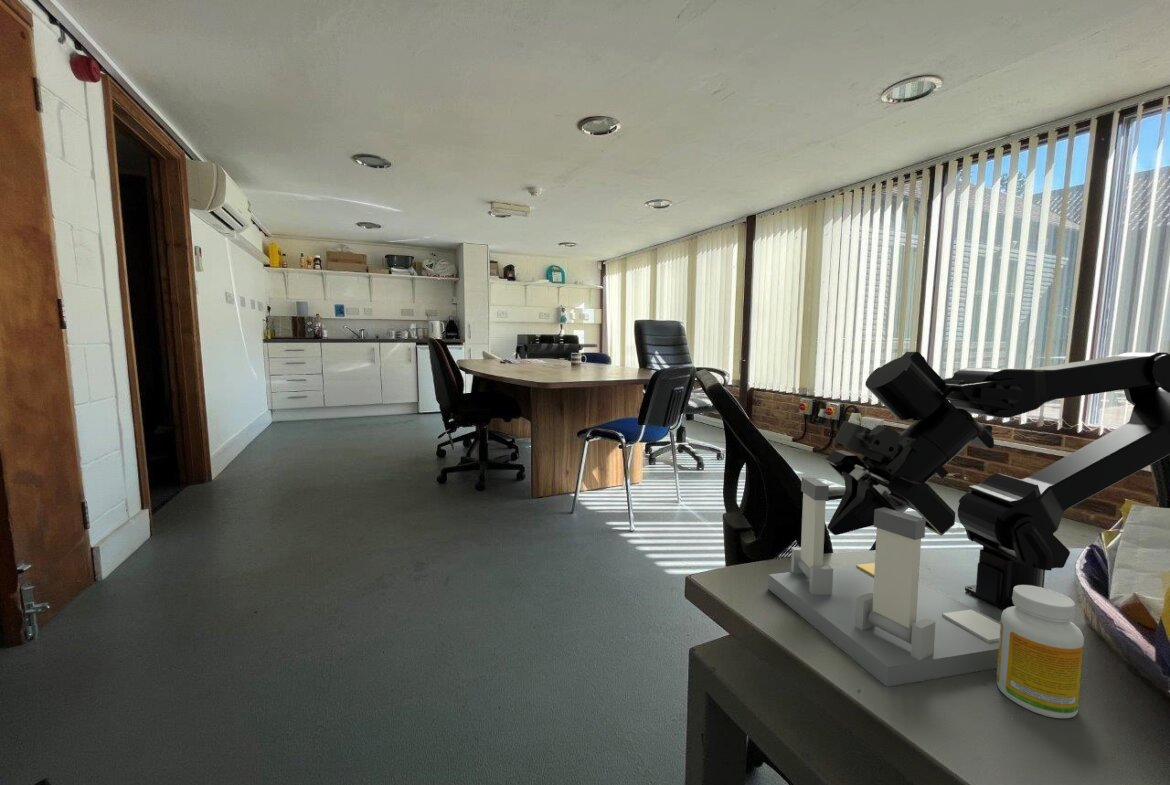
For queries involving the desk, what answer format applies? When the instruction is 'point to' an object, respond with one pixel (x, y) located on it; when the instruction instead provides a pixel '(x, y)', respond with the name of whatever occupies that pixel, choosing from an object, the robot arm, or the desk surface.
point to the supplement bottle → (1040, 652)
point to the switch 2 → (896, 571)
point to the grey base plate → (840, 612)
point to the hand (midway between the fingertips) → (830, 531)
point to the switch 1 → (812, 523)
